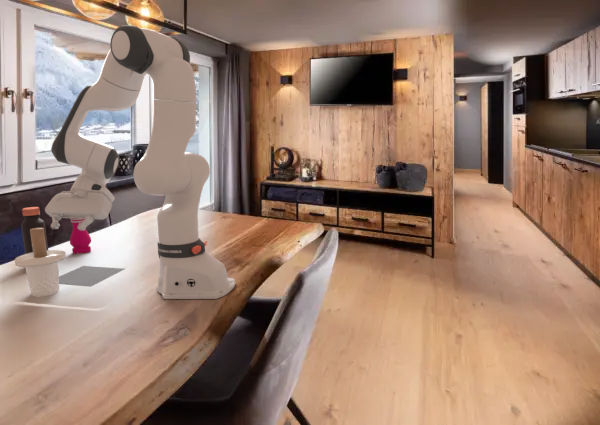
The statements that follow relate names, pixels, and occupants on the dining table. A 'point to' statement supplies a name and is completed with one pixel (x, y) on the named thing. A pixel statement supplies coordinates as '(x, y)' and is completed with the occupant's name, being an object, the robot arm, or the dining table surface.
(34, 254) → the lid
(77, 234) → the pepper mill
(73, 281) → the slate mat
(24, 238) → the bottle
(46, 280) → the white cup
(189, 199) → the robot arm
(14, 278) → the dining table surface
